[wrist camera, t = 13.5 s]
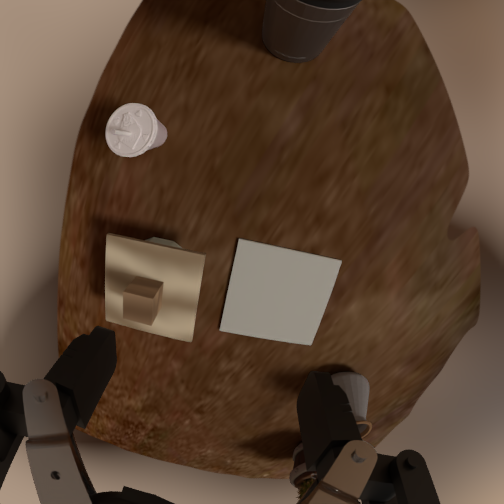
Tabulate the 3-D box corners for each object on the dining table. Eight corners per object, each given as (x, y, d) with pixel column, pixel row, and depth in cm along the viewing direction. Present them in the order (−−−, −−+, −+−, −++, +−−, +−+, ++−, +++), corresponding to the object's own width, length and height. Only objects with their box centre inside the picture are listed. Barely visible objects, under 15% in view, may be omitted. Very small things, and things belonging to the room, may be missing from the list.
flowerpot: (351, 427, 57) (372, 492, 38) (331, 457, 62) (344, 515, 43) (294, 429, 56) (305, 501, 37) (280, 459, 61) (286, 521, 42)
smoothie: (138, 161, 38) (91, 166, 25) (131, 120, 36) (82, 108, 23) (180, 150, 38) (146, 147, 25) (172, 108, 36) (136, 86, 22)
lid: (109, 232, 36) (89, 245, 31) (206, 253, 37) (198, 270, 32) (107, 317, 41) (92, 337, 35) (192, 339, 42) (185, 363, 36)
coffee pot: (327, 360, 50) (347, 420, 35) (374, 368, 51) (401, 421, 37) (283, 426, 56) (289, 480, 42) (327, 431, 57) (339, 480, 43)
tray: (239, 238, 42) (239, 238, 42) (341, 260, 43) (341, 260, 43) (219, 329, 47) (219, 330, 46) (310, 343, 48) (311, 345, 48)
